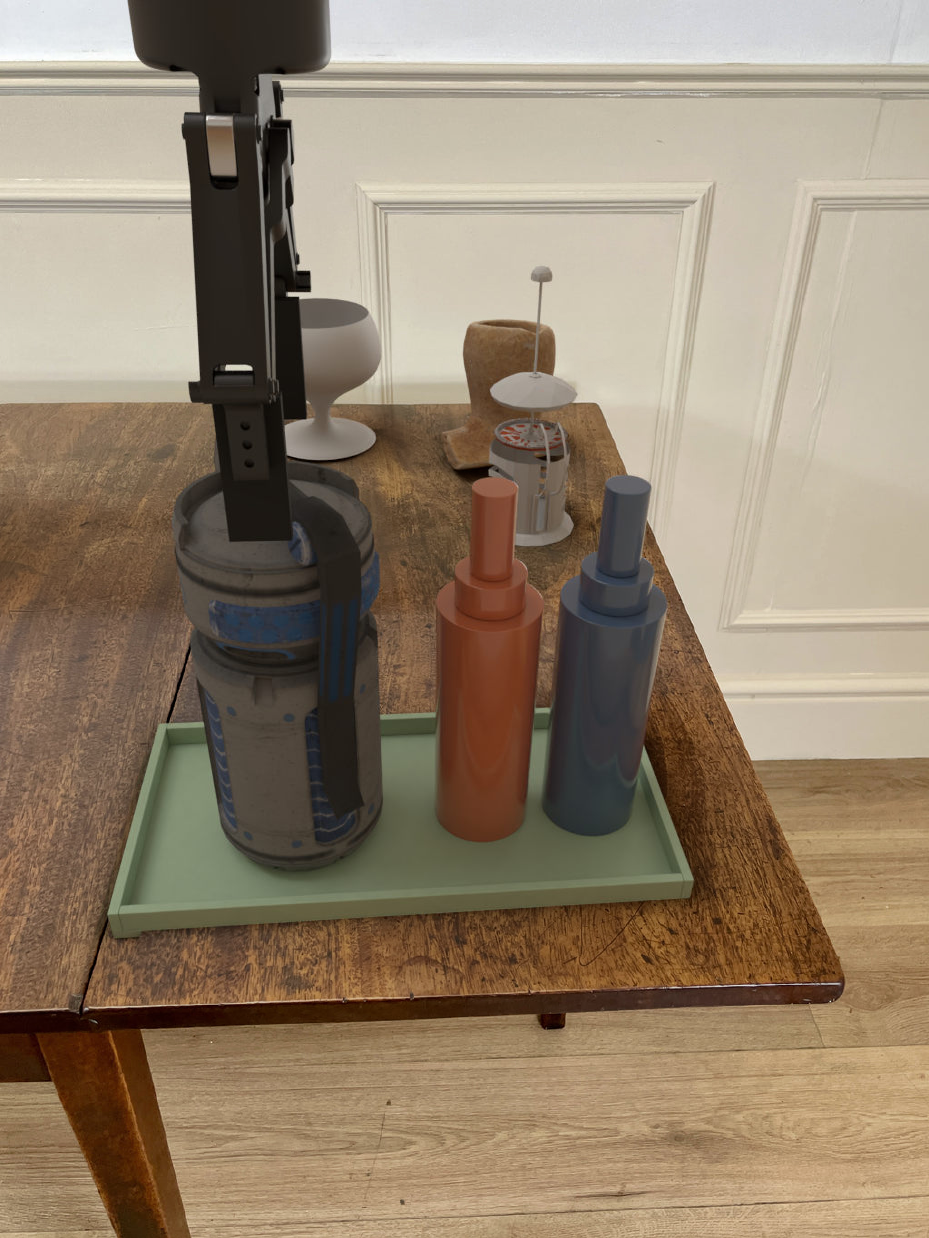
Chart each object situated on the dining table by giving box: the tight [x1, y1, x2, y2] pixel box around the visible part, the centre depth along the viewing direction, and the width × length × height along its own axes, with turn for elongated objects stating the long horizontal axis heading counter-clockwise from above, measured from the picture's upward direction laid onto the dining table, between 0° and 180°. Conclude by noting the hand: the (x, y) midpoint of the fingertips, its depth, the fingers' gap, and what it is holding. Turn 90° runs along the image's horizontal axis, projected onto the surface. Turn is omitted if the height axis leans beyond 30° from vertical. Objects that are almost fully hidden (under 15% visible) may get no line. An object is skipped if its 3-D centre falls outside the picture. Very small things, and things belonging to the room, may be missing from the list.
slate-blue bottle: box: [541, 474, 668, 836], centre depth 55 cm, size 6×6×23 cm
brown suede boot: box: [439, 318, 568, 471], centre depth 105 cm, size 15×12×15 cm
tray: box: [106, 707, 695, 939], centre depth 60 cm, size 33×16×2 cm, turn 95°
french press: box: [488, 265, 579, 547], centre depth 87 cm, size 10×12×25 cm
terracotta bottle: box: [434, 476, 545, 842], centre depth 55 cm, size 6×6×23 cm
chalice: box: [284, 297, 382, 461], centre depth 107 cm, size 14×14×15 cm
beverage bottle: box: [170, 437, 383, 871], centre depth 52 cm, size 10×13×25 cm
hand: (273, 470), depth 47 cm, fingers open, 13 cm apart
